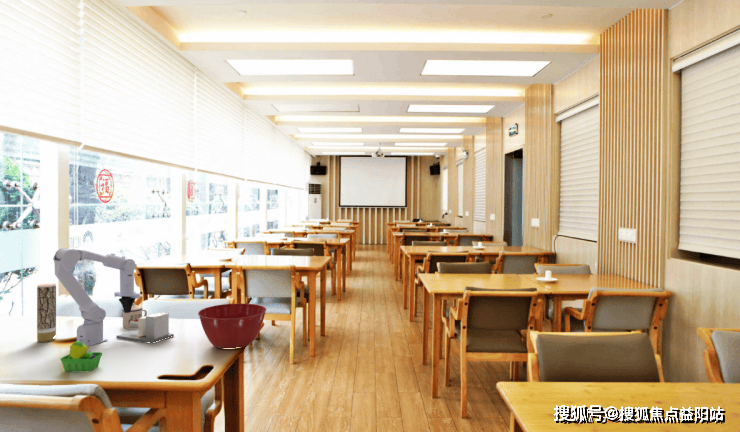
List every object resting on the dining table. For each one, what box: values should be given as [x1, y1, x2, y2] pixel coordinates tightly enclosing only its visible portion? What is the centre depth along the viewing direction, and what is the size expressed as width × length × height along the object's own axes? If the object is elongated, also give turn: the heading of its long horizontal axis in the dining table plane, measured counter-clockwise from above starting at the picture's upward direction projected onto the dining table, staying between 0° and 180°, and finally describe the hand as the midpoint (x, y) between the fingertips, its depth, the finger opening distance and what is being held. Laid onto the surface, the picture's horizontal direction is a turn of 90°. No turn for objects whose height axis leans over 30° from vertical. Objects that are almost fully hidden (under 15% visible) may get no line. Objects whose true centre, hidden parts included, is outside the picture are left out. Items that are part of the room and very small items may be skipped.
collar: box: [137, 315, 147, 336], centre depth 198 cm, size 7×2×8 cm, turn 159°
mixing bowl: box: [197, 302, 267, 349], centre depth 187 cm, size 28×28×16 cm
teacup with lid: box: [122, 302, 148, 329], centre depth 219 cm, size 12×9×12 cm
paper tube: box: [36, 283, 57, 343], centre depth 193 cm, size 7×7×25 cm
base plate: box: [116, 329, 174, 344], centre depth 198 cm, size 12×22×1 cm, turn 69°
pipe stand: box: [129, 312, 170, 340], centre depth 198 cm, size 8×19×10 cm, turn 69°
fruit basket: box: [60, 340, 103, 373], centre depth 157 cm, size 11×9×11 cm
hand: (127, 312), depth 203 cm, fingers closed
